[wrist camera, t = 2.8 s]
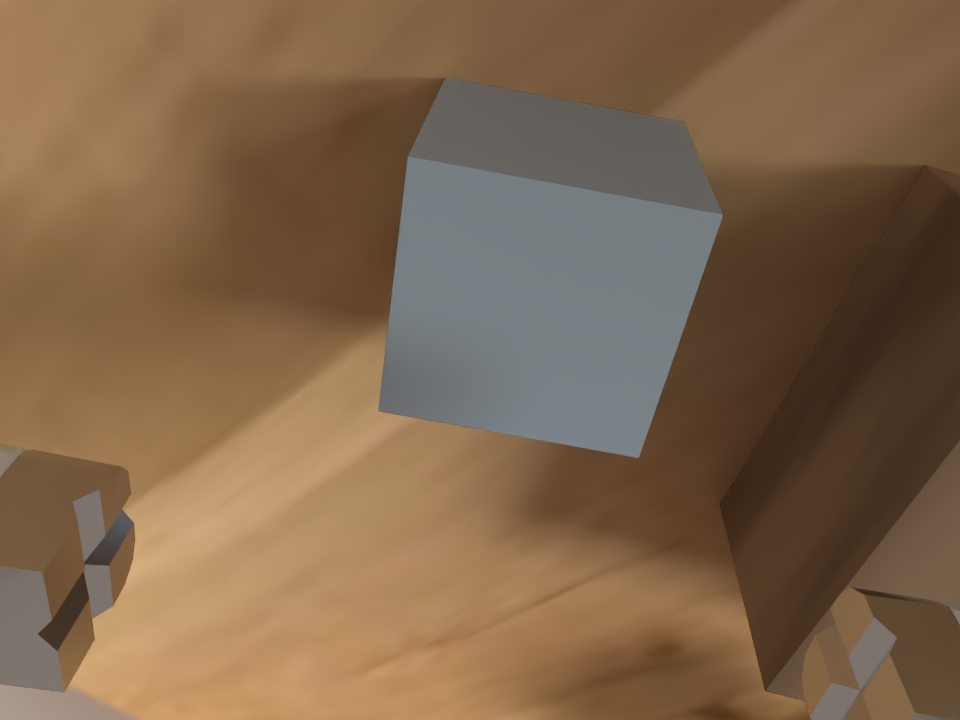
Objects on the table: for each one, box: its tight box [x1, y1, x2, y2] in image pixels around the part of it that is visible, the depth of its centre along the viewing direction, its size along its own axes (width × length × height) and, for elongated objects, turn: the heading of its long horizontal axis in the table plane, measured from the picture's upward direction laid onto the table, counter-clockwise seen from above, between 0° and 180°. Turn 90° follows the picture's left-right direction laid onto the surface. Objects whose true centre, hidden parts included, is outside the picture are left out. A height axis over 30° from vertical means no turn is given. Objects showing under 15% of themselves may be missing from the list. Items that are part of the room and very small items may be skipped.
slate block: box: [378, 78, 723, 458], centre depth 16 cm, size 5×5×5 cm
